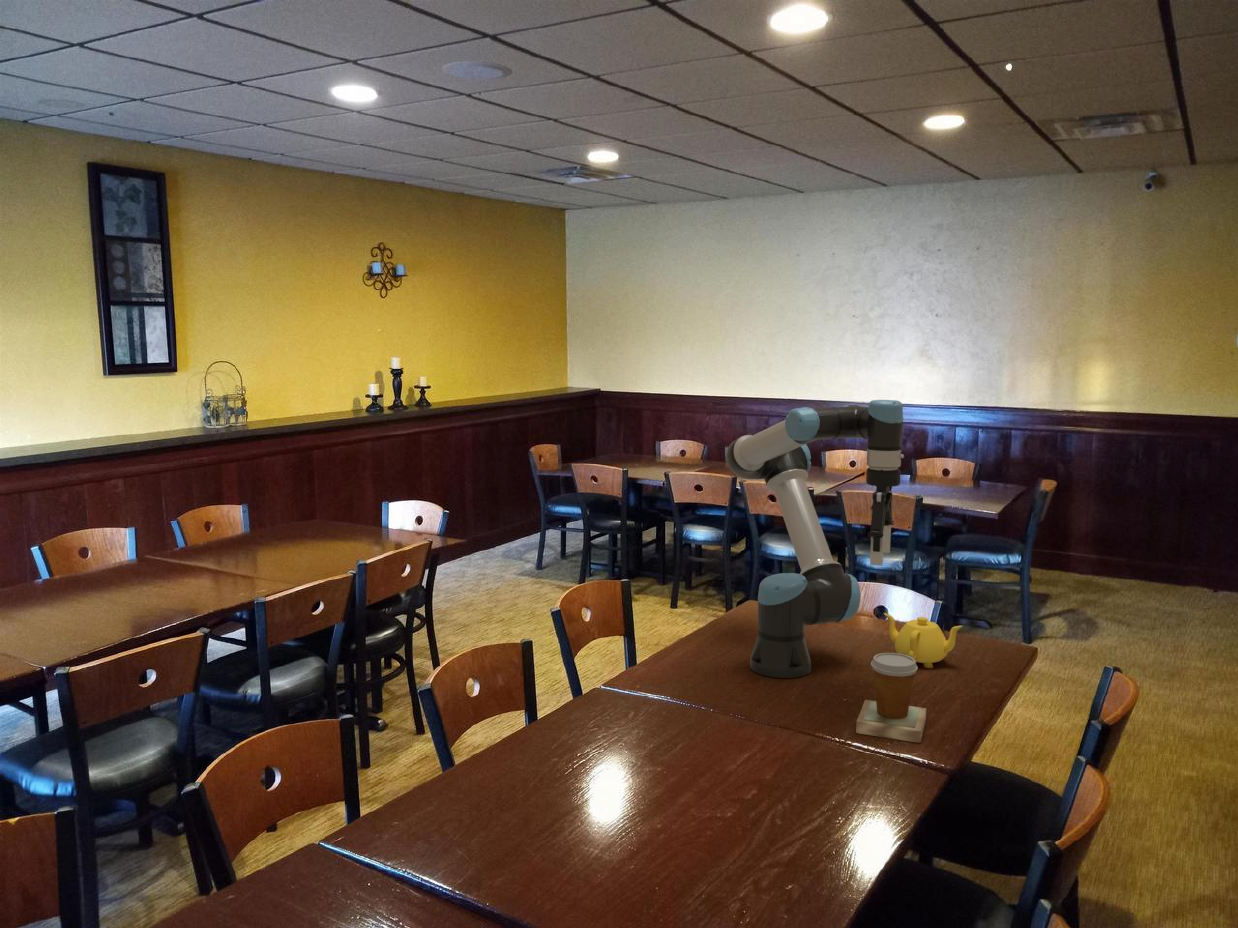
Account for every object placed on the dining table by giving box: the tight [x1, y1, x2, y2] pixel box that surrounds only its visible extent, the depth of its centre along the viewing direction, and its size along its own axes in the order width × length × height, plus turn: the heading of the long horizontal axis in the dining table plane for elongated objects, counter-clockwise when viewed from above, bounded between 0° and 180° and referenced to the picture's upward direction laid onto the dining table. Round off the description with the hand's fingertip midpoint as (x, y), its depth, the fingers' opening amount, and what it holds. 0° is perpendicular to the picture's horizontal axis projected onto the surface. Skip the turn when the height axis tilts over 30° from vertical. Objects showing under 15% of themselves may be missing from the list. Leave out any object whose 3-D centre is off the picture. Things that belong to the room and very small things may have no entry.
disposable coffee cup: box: [870, 652, 918, 719], centre depth 199 cm, size 10×10×12 cm
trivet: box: [855, 699, 927, 744], centre depth 200 cm, size 13×13×3 cm
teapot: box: [883, 612, 963, 669], centre depth 239 cm, size 20×15×12 cm
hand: (880, 558), depth 217 cm, fingers open, 13 cm apart
